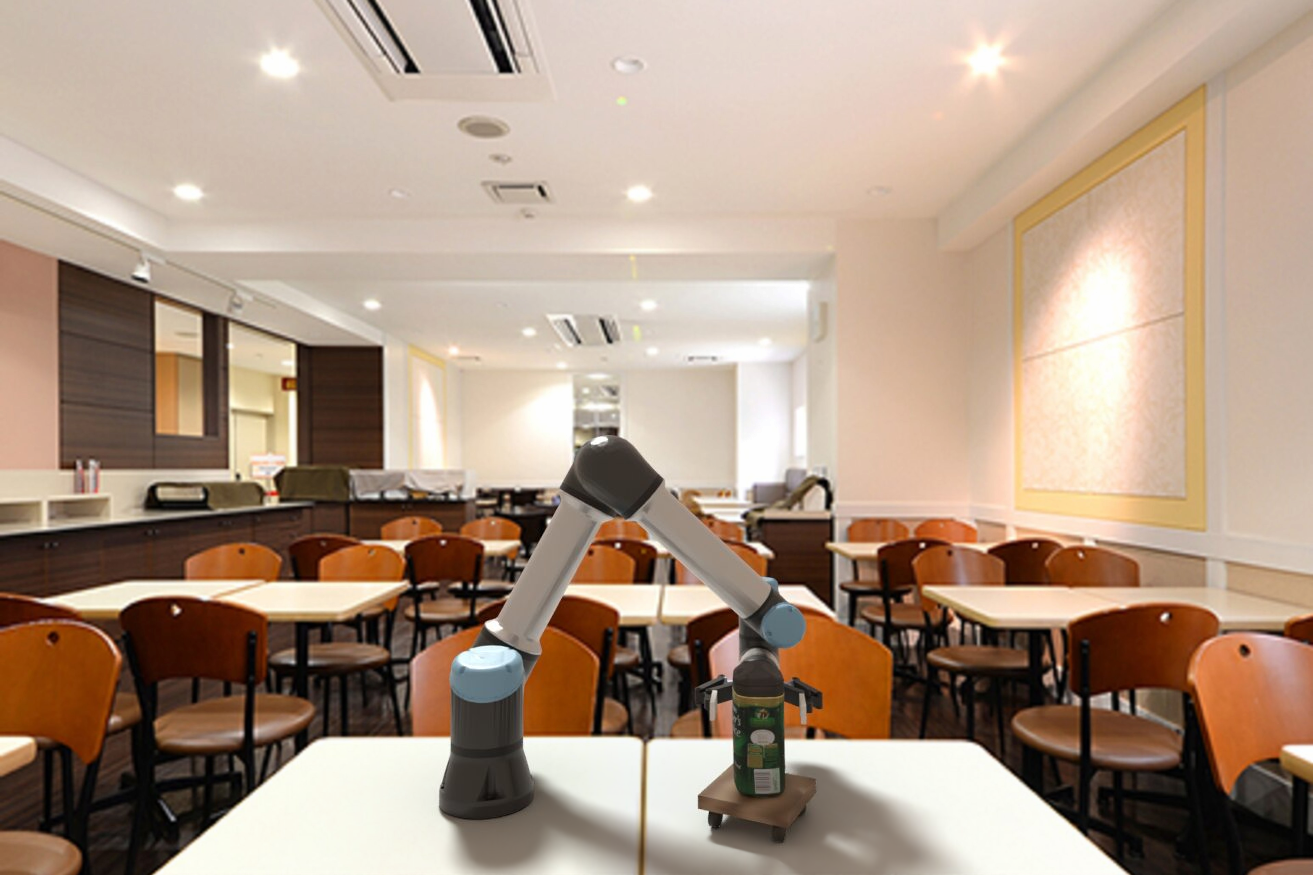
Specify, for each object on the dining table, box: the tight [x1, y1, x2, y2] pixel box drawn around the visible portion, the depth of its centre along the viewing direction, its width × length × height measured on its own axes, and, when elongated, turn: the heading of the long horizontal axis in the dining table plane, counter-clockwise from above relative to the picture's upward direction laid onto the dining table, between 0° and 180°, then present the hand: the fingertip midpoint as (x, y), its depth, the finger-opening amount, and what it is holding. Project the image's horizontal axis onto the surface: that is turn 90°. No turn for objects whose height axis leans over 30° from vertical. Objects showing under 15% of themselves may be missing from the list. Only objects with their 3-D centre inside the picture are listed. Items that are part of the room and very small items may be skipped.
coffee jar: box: [731, 661, 786, 797], centre depth 122 cm, size 10×8×19 cm
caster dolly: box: [697, 763, 817, 843], centre depth 121 cm, size 14×14×5 cm
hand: (757, 713), depth 119 cm, fingers open, 13 cm apart
